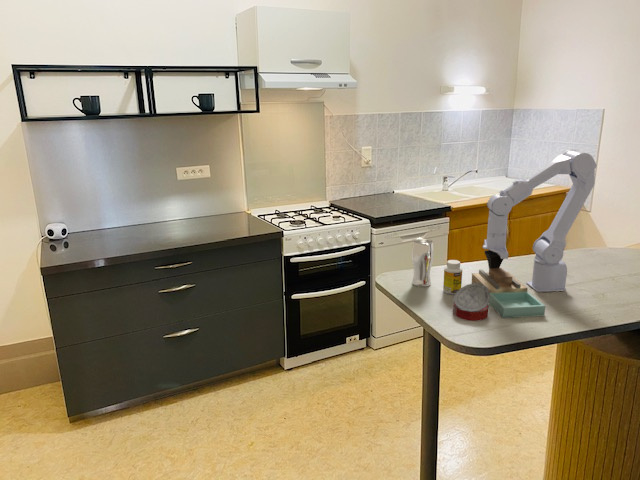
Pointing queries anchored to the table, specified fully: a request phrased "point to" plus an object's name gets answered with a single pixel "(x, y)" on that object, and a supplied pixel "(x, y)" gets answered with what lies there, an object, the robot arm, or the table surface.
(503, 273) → the block
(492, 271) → the brown block
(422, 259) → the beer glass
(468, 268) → the table surface
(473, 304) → the canned food
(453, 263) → the supplement bottle
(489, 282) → the slot deck
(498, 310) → the tray
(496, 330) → the table surface
